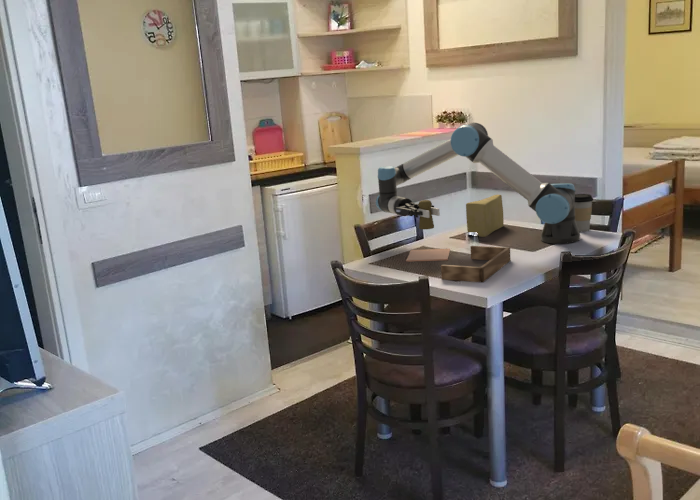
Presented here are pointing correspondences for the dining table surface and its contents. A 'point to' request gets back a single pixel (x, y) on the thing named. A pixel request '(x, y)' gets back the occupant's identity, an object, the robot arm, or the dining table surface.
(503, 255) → the walnut bay
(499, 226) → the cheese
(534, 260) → the dining table surface
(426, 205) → the olive pepper mill
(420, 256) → the terracotta tile
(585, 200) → the coffee cup
